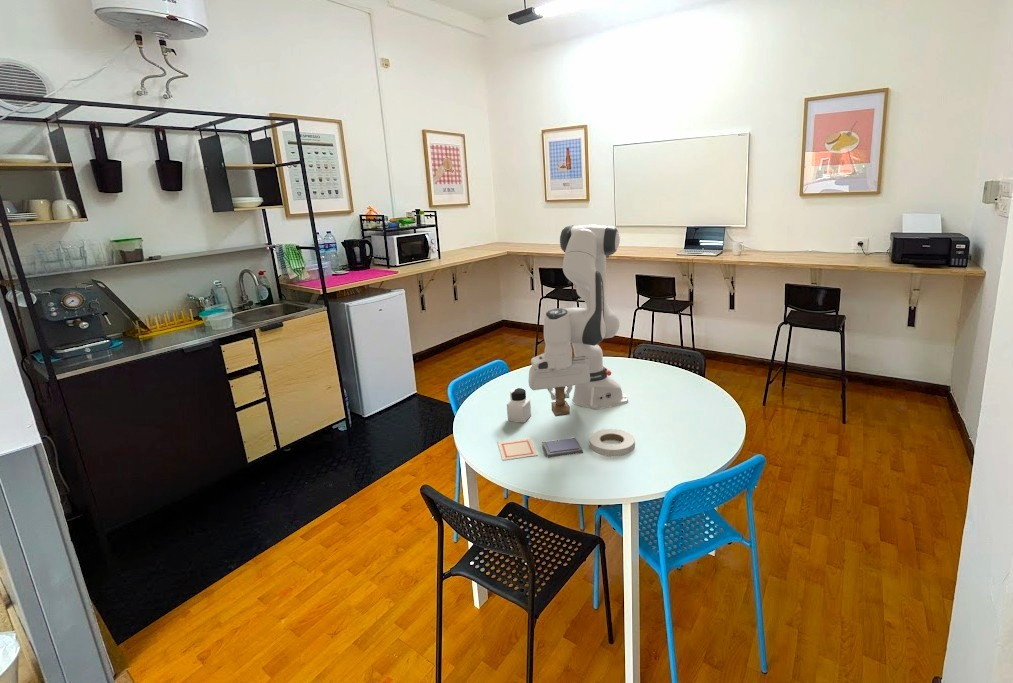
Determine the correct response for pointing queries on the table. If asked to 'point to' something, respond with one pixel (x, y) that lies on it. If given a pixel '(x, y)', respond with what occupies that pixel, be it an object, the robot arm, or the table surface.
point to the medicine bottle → (518, 406)
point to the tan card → (517, 449)
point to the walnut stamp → (560, 403)
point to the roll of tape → (608, 449)
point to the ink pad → (562, 447)
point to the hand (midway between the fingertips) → (560, 398)
